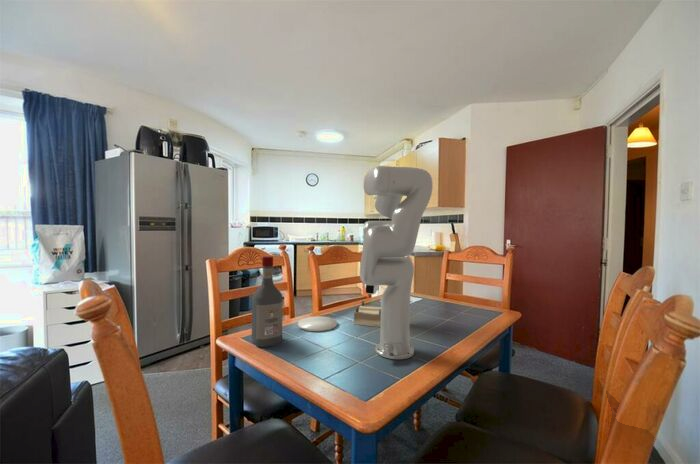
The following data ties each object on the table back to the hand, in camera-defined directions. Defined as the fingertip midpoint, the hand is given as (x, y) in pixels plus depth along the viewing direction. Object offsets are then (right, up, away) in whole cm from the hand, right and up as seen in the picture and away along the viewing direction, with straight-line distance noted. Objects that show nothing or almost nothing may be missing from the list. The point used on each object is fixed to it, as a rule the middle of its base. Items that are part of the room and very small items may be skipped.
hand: (371, 291), depth 129 cm
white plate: (-23, -13, -6) cm, 27 cm away
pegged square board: (0, -13, 0) cm, 13 cm away
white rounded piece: (0, -1, 0) cm, 1 cm away
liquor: (-39, -13, -24) cm, 47 cm away
